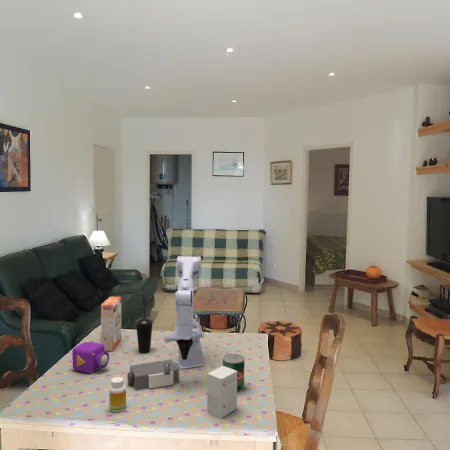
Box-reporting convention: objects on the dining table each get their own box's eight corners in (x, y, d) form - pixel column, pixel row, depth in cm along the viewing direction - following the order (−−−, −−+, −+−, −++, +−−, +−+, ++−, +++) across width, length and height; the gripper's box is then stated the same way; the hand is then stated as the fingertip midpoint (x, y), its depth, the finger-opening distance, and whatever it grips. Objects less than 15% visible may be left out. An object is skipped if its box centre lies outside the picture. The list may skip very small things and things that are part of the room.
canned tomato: (240, 394, 153) (240, 364, 152) (219, 390, 155) (219, 360, 154) (246, 384, 160) (247, 355, 159) (226, 381, 163) (227, 352, 162)
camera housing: (171, 371, 170) (171, 359, 170) (179, 382, 161) (179, 369, 160) (125, 379, 163) (125, 366, 163) (131, 391, 154) (131, 377, 153)
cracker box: (114, 351, 189) (113, 304, 187) (100, 351, 189) (99, 304, 187) (122, 340, 203) (122, 296, 201) (109, 339, 203) (109, 296, 201)
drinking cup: (156, 350, 191) (156, 305, 189) (144, 356, 185) (144, 310, 183) (144, 346, 195) (143, 303, 193) (131, 352, 189) (131, 307, 187)
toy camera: (101, 376, 165) (101, 351, 164) (69, 373, 168) (68, 347, 167) (114, 365, 176) (114, 341, 175) (83, 361, 178) (83, 338, 177)
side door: (172, 383, 160) (172, 361, 159) (174, 386, 158) (174, 364, 157) (148, 387, 156) (148, 365, 155) (150, 390, 154) (149, 368, 153)
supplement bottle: (128, 409, 142) (128, 380, 141) (112, 414, 139) (111, 384, 138) (122, 402, 146) (122, 374, 145) (106, 406, 143) (106, 378, 142)
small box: (222, 402, 147) (223, 365, 146) (237, 408, 143) (237, 370, 142) (206, 411, 141) (206, 373, 140) (221, 418, 137) (221, 379, 135)
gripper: (168, 328, 151) (168, 366, 153) (207, 323, 157) (206, 359, 158) (162, 322, 158) (162, 358, 159) (200, 317, 164) (200, 352, 165)
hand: (184, 358), depth 159 cm, fingers closed
